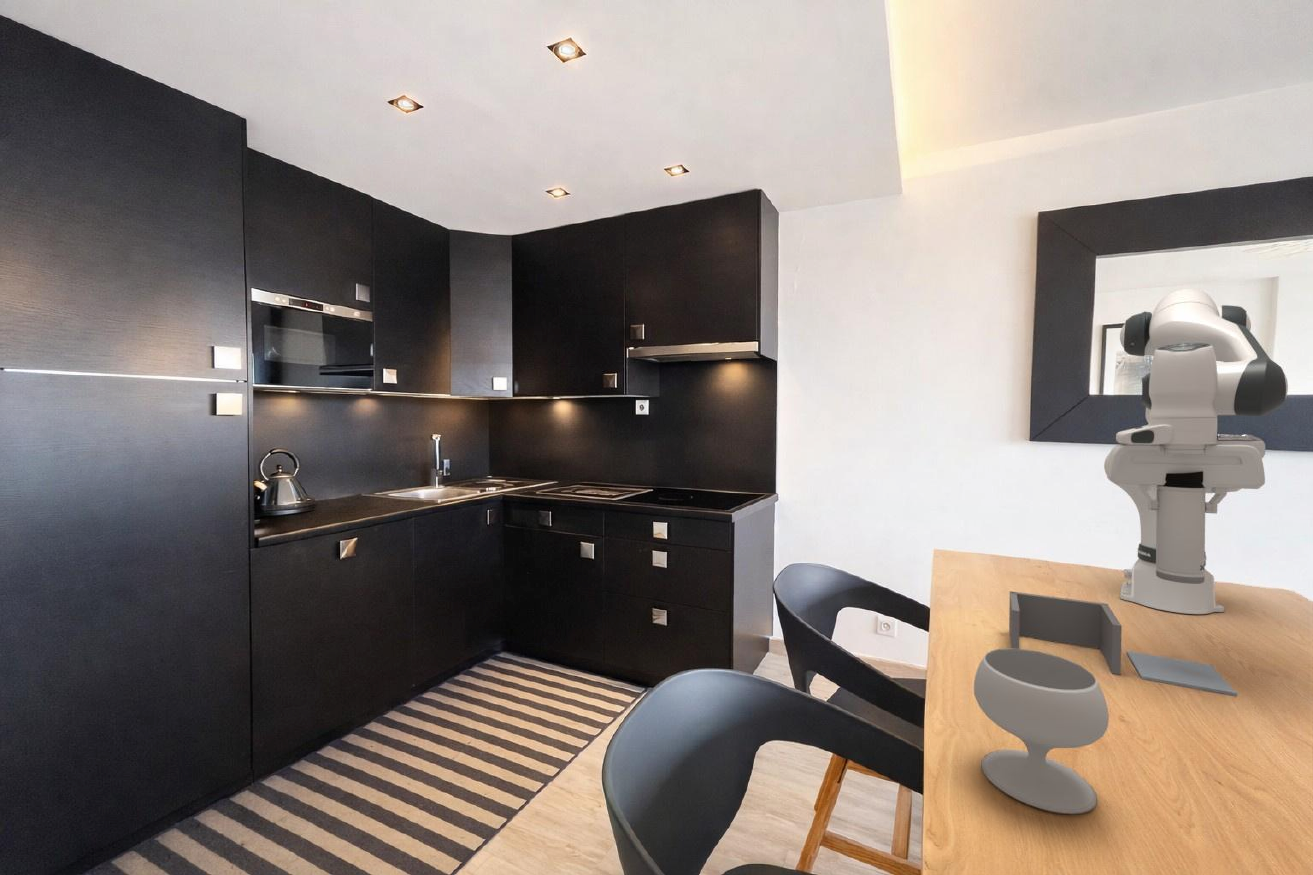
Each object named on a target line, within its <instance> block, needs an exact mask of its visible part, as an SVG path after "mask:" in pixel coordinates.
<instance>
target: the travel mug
mask: <svg viewBox="0 0 1313 875" xmlns="http://www.w3.org/2000/svg"><path fill="white" fill-rule="evenodd" d="M1165 481H1166V483H1165V484H1164V485H1157V488H1158V489H1157V500H1158V501H1159V505H1158V507H1159V508H1158V510H1157V516H1156V567H1157V568H1156V576H1157V577H1159V578H1161V579H1164V580H1168V581H1173V582H1179V583H1188V584H1201V583H1203V582H1204V572H1205V569H1206V566H1205V552H1206V550H1205V549H1206V513H1205V502H1206V493H1205V492H1204V491H1205V490H1206V488H1205V487H1204V486H1203V484H1202V482H1203V471H1201V472H1193V473H1166V477H1165Z"/></svg>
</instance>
